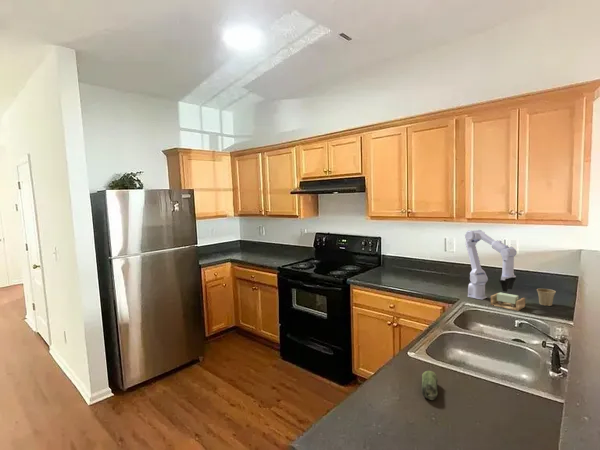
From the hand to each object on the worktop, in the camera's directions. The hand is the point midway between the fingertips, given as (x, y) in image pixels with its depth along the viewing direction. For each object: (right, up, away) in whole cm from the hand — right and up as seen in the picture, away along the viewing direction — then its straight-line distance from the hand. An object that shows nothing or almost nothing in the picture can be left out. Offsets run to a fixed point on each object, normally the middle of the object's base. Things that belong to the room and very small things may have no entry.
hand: (507, 290), depth 202 cm
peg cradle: (0, -10, +1) cm, 10 cm away
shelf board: (0, -7, 0) cm, 7 cm away
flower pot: (+25, -9, +2) cm, 26 cm away
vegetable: (-79, -19, -86) cm, 119 cm away
